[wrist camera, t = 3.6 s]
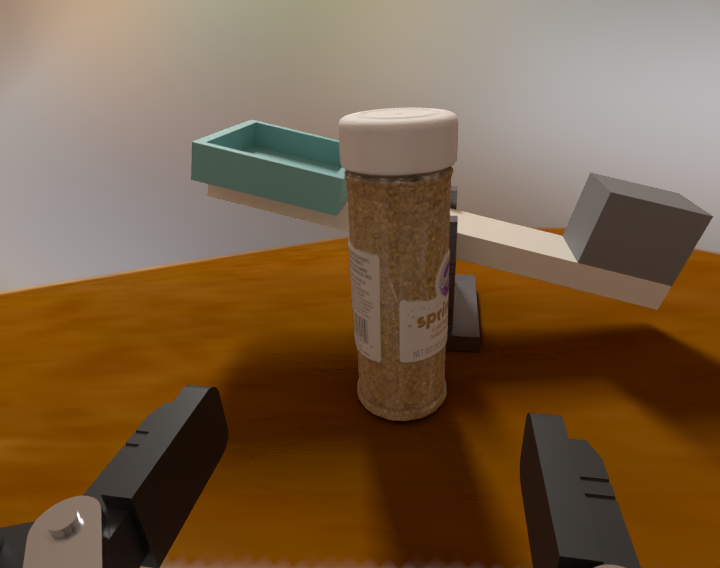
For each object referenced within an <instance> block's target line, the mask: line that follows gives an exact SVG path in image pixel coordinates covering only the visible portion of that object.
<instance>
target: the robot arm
mask: <svg viewBox="0 0 720 568" xmlns="http://www.w3.org/2000/svg"><path fill="white" fill-rule="evenodd" d="M227 440H228V429H227V424H226V420H225V416H224V412H223V407H222V403H221V399H220V394H219V391H218V389H217V388H216V387H210V386H197V385H187V386H185V387H184V388H183V389H182V391H181V392H180V393H179V394H178V396H177V397H176V398H175V400H174V401H173V402H172V403H167V402H166V403H165V404H164V405H162V406H161V407H159V408H158V409H157V410H155V411H154V412H152V413H151V414H150V415H148V416H147V418H146V419H145V420H144V421H143V423H142V424H141V425H140V426H139V427H138V429H137V430H136V433H135V434H133V435H132V436H131V437H130V438H129V440H128V441H127V442H126V446H123V447H122V448H121V449H120V451H119V452H118V453H117V454H116V456H115V457H114V458H113V459H112V460H111V462H110V463H109V464H108V465H107V467H106V468H105V469H104V470H103V471H102V473H101V474H100V475H99V476H98V478H97V479H96V480H95V481H94V482H93V484H92V485H91V486H90V487H89V489H88V490H87V491H86V492H85V493H84V494H83V496H76V497H72V498H69V499H66V500H63V501H61V502H59V503H57V504H55V505H54V506H52V507H51V508H49V509H48V510H47V511H45V512H44V513H43V514H42V515H41V516H40V517H39V518H38V519H37V520H36V521H35V522H30V523H25V524H19V525H13V526H7V527H2V528H0V568H140V566H145V567H152V568H159V567H160V566H161V564H162V562H163V560H164V559H165V557H166V555H167V553H168V551H169V550H170V548H171V546H172V544H173V542H174V541H175V539H176V537H177V535H178V534H179V532H180V530H181V528H182V526H183V525H184V523H185V521H186V519H187V517H188V516H189V514H190V512H191V510H192V509H193V507H194V505H195V503H196V501H197V500H198V498H199V496H200V494H201V492H202V491H203V489H204V487H205V485H206V484H207V482H208V480H209V478H210V476H211V475H212V473H213V471H214V469H215V467H216V466H217V464H218V462H219V460H220V459H221V457H222V455H223V453H224V451H225V448H226V445H227ZM520 482H521V490H522V497H523V503H524V510H525V517H526V523H527V530H528V536H529V543H530V549H531V556H532V563H533V568H641V567H640V564H639V562H638V559H637V556H636V553H635V550H634V548H633V545H632V542H631V539H630V536H629V533H628V531H627V528H626V525H625V522H624V519H623V517H622V514H621V511H620V508H619V505H618V503H617V501H616V500H615V494H614V491H613V489H612V486H611V483H609V477H608V475H607V472H606V469H605V466H604V463H603V460H602V458H601V457H600V456H599V455H598V454H597V453H596V451H595V450H594V449H593V448H592V447H591V446H590V444H589V443H588V442H587V441H586V440H576V439H569V438H568V435H567V431H566V428H565V424H564V421H563V418H562V417H561V416H560V415H549V414H537V413H528V414H527V417H526V423H525V430H524V437H523V444H522V451H521V458H520Z"/></svg>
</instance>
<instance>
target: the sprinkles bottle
mask: <svg viewBox="0 0 720 568" xmlns="http://www.w3.org/2000/svg"><path fill="white" fill-rule="evenodd" d="M457 146H458V118H457V116H456V115H455V114H454V113H453V112H450V111H447V110H442V109H430V108H388V109H377V110H369V111H363V112H358V113H353V114H350V115H347V116H344V117H343V118H342V119H341V120H340V122H339V151H340V164H341V166H342V167H343V168H344V169H346V170H345V172H344V174H345V179H346V182H347V201H348V220H349V233H350V234H349V240H348V245H349V259H350V274H351V290H352V306H353V321H354V337H355V344H356V347H357V353H358V371H359V380H358V385H357V393H358V397H359V400H360V401H361V403H362V404H363V406H364V407H365V408H366V409H367V410H369V411H370V412H371V413H373V414H374V415H377V416H380V417H382V418H385V419H388V420H391V421H409V420H415V419H421V418H423V417H425V416H428V415H430V414H432V413H433V412H435V411H436V410H437V409H438V407H439V406H441V405H442V403H443V401H444V400H445V397H446V395H447V386H446V381H445V351H446V341H447V331H448V299H449V263H450V250H449V236H450V233H449V227H450V206H451V205H450V195H451V176H452V174H453V168H452V167H451V166H452V165H454V164H455V162H456V160H457Z"/></svg>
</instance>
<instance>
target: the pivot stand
mask: <svg viewBox="0 0 720 568" xmlns="http://www.w3.org/2000/svg"><path fill="white" fill-rule="evenodd" d="M456 204H457V187H456V186H451V195H450V205H451V206H450V208H451V209H455V210H456ZM457 225H458V216H450V227H449V233H450V236H449V250H450V263H449V299H448V331H447V341H446V350H450V351H466V352H479V344H480V331H479V320H478V308H477V296H476V285H475V275H456V274H455V267H456V246H457Z"/></svg>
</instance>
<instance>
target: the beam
mask: <svg viewBox="0 0 720 568" xmlns="http://www.w3.org/2000/svg"><path fill="white" fill-rule="evenodd" d="M345 170H346V169H344V168H343V167H342V166H341V164H340V151H339V140H335V139H331V138H326V137H322V136H318V135H314V134H310V133H306V132H301V131H297V130H293V129H289V128H285V127H281V126H276V125H272V124H268V123H264V122H260V121H256V120H249V121H246V122H244V123H241V124H238V125H236V126H233V127H230V128H228V129H225V130H222V131H220V132H217V133H214V134H211V135H209V136H206V137H203V138H201V139H198V140H195V141H193V142H192V173H191V174H192V175H191V180H195V181H200V182H203V183H207V184H208V196H211V197H215V198H219V199H223V200H227V201H231V202H235V203H238V204H242V205H247V206H250V207H254V208H258V209H262V210H266V211H270V212H274V213H278V214H282V215H286V216H290V217H294V218H298V219H302V220H306V221H310V222H313V223H317V224H321V225H325V226H329V227H333V228H337V229H341V230H345V231H349V220H348V201H347V182H346V179H345V174H344V172H345ZM450 216H458V225H457V246H456V259H459V260H463V261H467V262H471V263H475V264H479V265H483V266H487V267H491V268H495V269H499V270H503V271H507V272H511V273H514V274H518V275H522V276H526V277H530V278H534V279H538V280H542V281H546V282H550V283H554V284H558V285H562V286H566V287H570V288H574V289H578V290H581V291H585V292H589V293H593V294H597V295H601V296H605V297H609V298H613V299H617V300H621V301H625V302H629V303H633V304H637V305H641V306H645V307H649V308H652V309H656V310H658V308H659V307H660V305H661V303H662V301H663V300H664V298H665V296H666V295H667V293H668V291H669V290H670V288H671V286H672V285H673V283H674V281H675V280H676V278H677V276H678V275H679V273H680V271H681V269H682V268H683V266H684V264H685V263H686V261H687V259H688V258H689V256H690V254H691V253H692V251H693V249H694V248H695V246H696V244H697V242H698V241H699V239H700V238H701V236H702V234H703V232H704V231H705V229H706V227H707V226H708V224H709V222H710V221H711V219H712V217H713V216H711V215H710V214H709V213H707V212H706V211H704V210H703V209H701V208H700V207H698V206H697V205H695V204H694V203H692V202H691V201H689V200H688V199H686V198H685V197H683V196H682V195H680V194H678V193H674V192H670V191H666V190H662V189H657V188H653V187H649V186H645V185H640V184H636V183H631V182H628V181H623V180H619V179H615V178H611V177H607V176H602V175H598V174H594V173H590V175H589V177H588V179H587V182H586V184H585V186H584V189H583V191H582V193H581V195H580V198H579V200H578V202H577V204H576V207H575V209H574V211H573V214H572V216H571V218H570V220H569V223H568V225H567V227H566V230H565V232H564V234H563V236H560V235H556V234H552V233H548V232H544V231H540V230H536V229H532V228H528V227H524V226H520V225H516V224H511V223H507V222H503V221H499V220H495V219H491V218H487V217H483V216H479V215H475V214H471V213H467V212H462V211H459V210H455V209H451V208H450Z"/></svg>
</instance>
